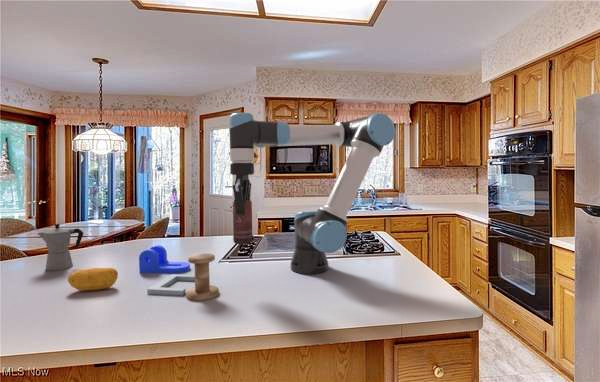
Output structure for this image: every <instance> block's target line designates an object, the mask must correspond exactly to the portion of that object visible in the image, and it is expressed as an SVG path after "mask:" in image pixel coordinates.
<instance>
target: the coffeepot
mask: <svg viewBox="0 0 600 382" xmlns="http://www.w3.org/2000/svg"><path fill="white" fill-rule="evenodd" d="M54 227H55V228H53V229H49V230H44V231H41V232H38V233H37V235H38V236H39V237H41V239H42V240H43V241H44V242H45V245H46V248H47V251H48V253H47V256H46V264H45V269H46V271H48V272H49V271H50V272H52V271H54V272H55V271H61V270H62V271H63V270H67V269H69V268H72V267H73V266H74V263H73V259H72V257H71V253H70V250H69V247H70V244H71V243H70V242H71V235H72V234H78V235H77V239H76V241H75V245H72V246H71V247H72V249H78V248H79V247H80V244H81V241H82V239H83V236H84V232H83V230H81V229H80V228H62V227H60V223H55V224H54Z"/></svg>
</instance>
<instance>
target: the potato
mask: <svg viewBox="0 0 600 382" xmlns="http://www.w3.org/2000/svg"><path fill="white" fill-rule="evenodd" d="M118 274H119V273H118V270H117V269H115V268H113V267H93V268H83V269H78V270H75V271H74V272H72V273H70V274H69V276H67V282H68V284H69V285H70V286H71V288H74V289H76V290H77V291H98V290H99V291H102V290H105V289H109V288H111V287H113V286H114V284H116V282H117V279H118V277H119V275H118Z"/></svg>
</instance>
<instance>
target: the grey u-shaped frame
mask: <svg viewBox="0 0 600 382" xmlns="http://www.w3.org/2000/svg"><path fill="white" fill-rule="evenodd" d="M176 281H180V282H181V281H184V282H186V281H188V282H189V281H190V282H195V274H181V273H170V275H168V276H166V277H165V278H163V279H162V280H160V281H158V282H156V283H155V284H154V285H152V286H150V287H148V288H147V289H146V291H147V295H165V296H168V295H169V296H184V295H186V291H187V289H186V288H183V287H181V288H180V287H169V286H171V285H172V284H174V283H175V282H176Z"/></svg>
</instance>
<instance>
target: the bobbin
mask: <svg viewBox="0 0 600 382" xmlns="http://www.w3.org/2000/svg"><path fill="white" fill-rule="evenodd" d="M187 258H188V262H187V263H190V264H194V275H195V281H194V287H191V288H188V289H186V293H185V298H186V299H187V300H189V301H192V300H194V301H195V302H201V301H200V300H203V301H208V299H209V300H212V299H214V298H216V297H218V296H219V294H220V292H219V291H220V290H219V287H217V286H215V285H212V284H211V285H210V283H211V281H210V263H212V262H213V261H215V258H216V257H215V255H214V254H212V253H197V254H196V253H195V254H192V255H190V256H189V257H187ZM194 301H193V302H194Z"/></svg>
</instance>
